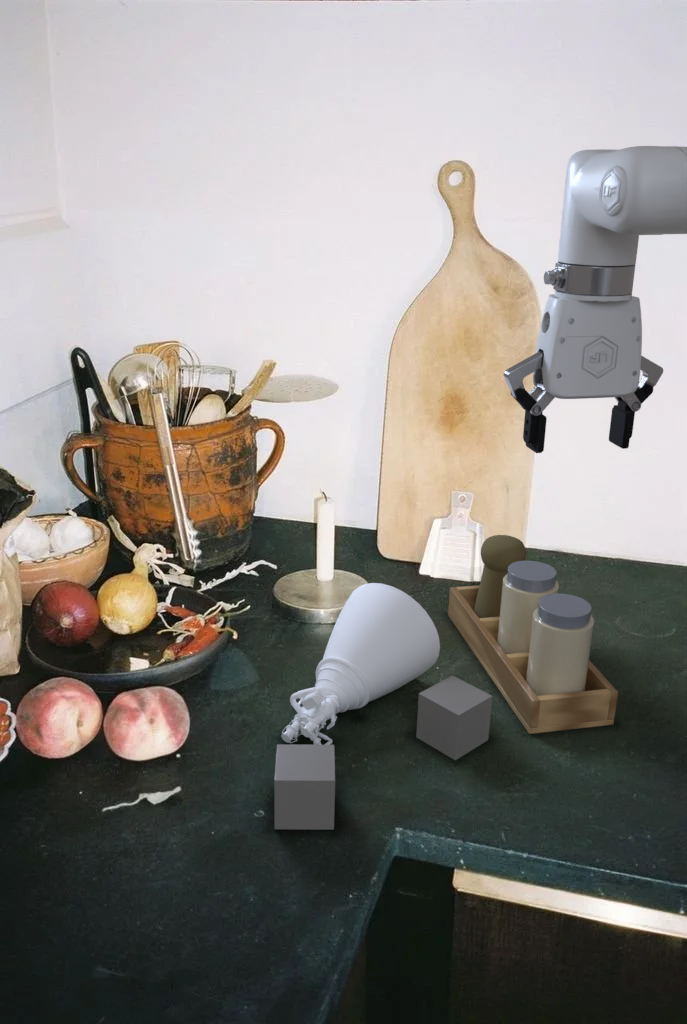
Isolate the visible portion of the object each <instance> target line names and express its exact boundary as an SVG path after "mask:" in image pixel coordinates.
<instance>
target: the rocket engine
mask: <svg viewBox="0 0 687 1024" xmlns="http://www.w3.org/2000/svg"><path fill="white" fill-rule="evenodd" d="M440 650H441V643H440V637H439V633H438V630H437V627H436V625H435V623H434V622H433V620H432V618H431V616H430V615H429V613H428V612H427V611H426V610H425V608H423V607H422V605H421V604H420V603H419V602H418V601H416V600H415V599H414V598H413V597H412V596H411V595H409V594H407V593H406V592H405V591H403V590H401V589H399V588H397V587H395V586H392V585H389V584H385V583H381V582H379V583H378V582H369V583H365V584H362V585H359V586H358V587H356V588H355V589H354V590H353V591H352V592H351V594H350V595H349V597H348V598H347V600H346V601H345V604H344V605H343V607H342V609H341V611H340V612H339V615H338V617H337V619H336V620H335V624H334V627H333V628H332V631H331V634H330V636H329V639H328V641H327V645H326V647H325V650H324V653H323V657H322V659H321V660H320V661H319V662H318V664H317V665H316V669H315V684H314V686H313V687H309V688H305V689H301V690H298V691H297V692H293V693H292V694H291V695H290V697H289V703H290V705H291V707H292V708H293V709H294V710H295V711H296V714H295V715H294V717H293V719H292V720H291V721H290V723H289V724H287V725H286V726H285V727H284V728H283V730H282V731H281V735H280V737H281V739H282V740H283V741H284V742H285V743H287V744H293V743H296V742H298V737H299V736H302V735H303V736H304V737H305V738H309V740H310V741H311V742H312V743H313V744H312V745H332V744H333V739H332V738H331V737H329V736H328V735H327V734H324V733H323V732H320V731H321V730H322V729H324V728H325V726H326V725H327V723H326V722H327V721H328V720H330V722H329V724H328V725H327V726H326V730H330V729H332V728H333V727H335V724H336V721H337V719H338V716H337V714H338V713H344V712H347V711H348V710H349V711H351V710H357V709H358V710H359V709H362V708H364V707H365V706H367V705H368V703H369V702H372V701H374V700H377V699H379V698H381V697H384V696H386V695H388V694H390V693H392V692H394V691H395V690H398V689H400V688H402V687H403V686H405V685H407V684H408V683H410V682H412V681H414V680H415V679H417V678H418V677H420V676H421V675H423V674H424V673H426V672H427V671H428V670H429V669H431V668H432V667H433V666H434V665H435V664H436V663H437V660H438V658H439V657H440ZM297 699H298V700H299V701H298V702H297ZM301 705H302V706H301ZM285 730H286V731H285ZM293 740H294V741H293ZM322 740H325V741H327V742H326V743H324V744H322V742H321V741H322Z"/></svg>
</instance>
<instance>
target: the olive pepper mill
mask: <svg viewBox="0 0 687 1024" xmlns="http://www.w3.org/2000/svg"><path fill="white" fill-rule="evenodd" d="M480 547H481V548H480V558H481V561H482V563H483V569H482V573H481V577H480V583H479V585H480V586H479V590H478V595H477V599H476V603H475V608H474V612H475V614H476V615H477V616H478V618H479V619H480V618H489V617H499V616H500V605H501V594H502V584H503V578H504V576H505V575H507V570H508V566H509V565H510V564H512V563H514V562H517V561H526V558H527V549H526V546H525V544H524V543H523V541H522V540H521V539H519V538H517V537H515V536H512V535H508V534H495V535H492V536H488V537H487V538H485V540H484V541H483V542H482V544H481V546H480Z"/></svg>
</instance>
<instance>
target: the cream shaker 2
mask: <svg viewBox="0 0 687 1024" xmlns="http://www.w3.org/2000/svg"><path fill="white" fill-rule="evenodd" d="M594 627H595V619H594V616H593V615H592V605H591V604H590V603H589V602H588V601H587V600H586V599H584V598H582V597H580V596H577V595H574V594H570V593H569V594H568V593H559V592H558V593H557V594H549V595H545V596H543V597H542V598H540V600H539V602H538V608H537V609H535V611H534V612H533V620H532V629H531V638H530V647H529V657H528V666H527V675H526V682H527V683H528V685H529V686H530V687H531V689H532V690H533V691H534V693H535V694H536V696H543V695H553V694H562V693H572V692H582V691H585V687H586V679H587V672H588V665H589V660H590V658H591V657H590V656H591V649H592V642H593V635H594Z"/></svg>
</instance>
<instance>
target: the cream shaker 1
mask: <svg viewBox="0 0 687 1024" xmlns="http://www.w3.org/2000/svg"><path fill="white" fill-rule="evenodd" d="M559 591H560V584H559V582H558V580H557V569H555V568H554V567H553V566H551V565H550V564H547V563H545V562H542V561H536V560H524V561H517V562H514V563H512V564H510V565H509V566H508V570H507V575H505V576H504V578H503V584H502V594H501V605H500V616H499V626H498V637H497V643H498V644H499V646H500V647H501V648H502V650H503V651H504V653H505V654H515V653H526V652H529V647H530V638H531V629H532V620H533V612H534V611H535V609H537V608H538V602H539V600H540V598H542V597H543V596H545V595H549V594H557V593H558V594H559Z"/></svg>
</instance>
